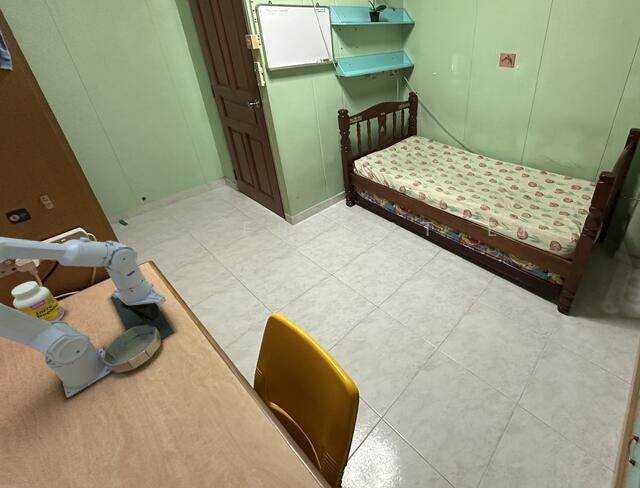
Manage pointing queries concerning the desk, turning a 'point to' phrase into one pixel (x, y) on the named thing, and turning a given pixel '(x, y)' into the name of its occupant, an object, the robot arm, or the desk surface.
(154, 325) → the mat
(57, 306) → the supplement bottle
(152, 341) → the frying pan
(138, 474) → the desk surface
